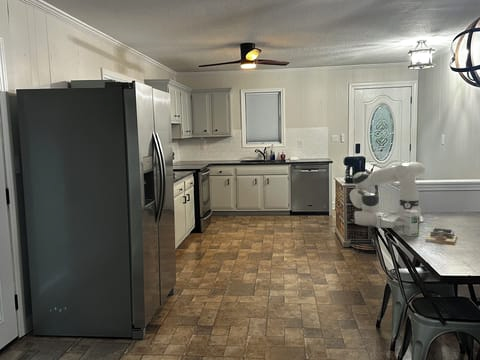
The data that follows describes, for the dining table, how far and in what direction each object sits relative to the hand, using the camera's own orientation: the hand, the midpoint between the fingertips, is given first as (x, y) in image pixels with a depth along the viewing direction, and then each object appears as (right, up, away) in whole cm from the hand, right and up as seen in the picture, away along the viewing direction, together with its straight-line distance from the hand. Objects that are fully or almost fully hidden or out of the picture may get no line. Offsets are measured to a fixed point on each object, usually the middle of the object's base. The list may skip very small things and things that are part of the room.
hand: (405, 222), depth 243 cm
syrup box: (+3, -8, 0) cm, 8 cm away
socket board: (+16, -8, -10) cm, 21 cm away
